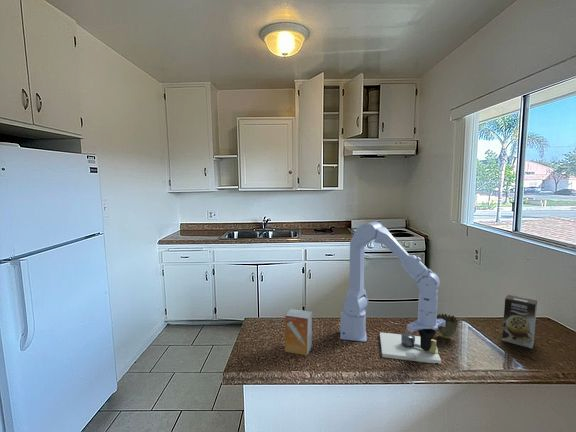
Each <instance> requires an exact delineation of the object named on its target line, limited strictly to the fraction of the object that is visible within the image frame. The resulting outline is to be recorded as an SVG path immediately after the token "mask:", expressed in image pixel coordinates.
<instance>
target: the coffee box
mask: <svg viewBox="0 0 576 432" xmlns="http://www.w3.org/2000/svg"><path fill="white" fill-rule="evenodd" d="M537 308H538V300H537V299H531V298H525V297H523V296H522V297H521V296H518V295H517V296H516V295H510V294H507V295H506V297H505V298H504V310H503V322H502V325H503V326H502V335H501V341H502V342H507V343H511V344H513V345H517V346H521V347H525V348H528V349H533V348H534V343H535V332H536V331H535V330H536V322H537V321H536V319H537Z"/></svg>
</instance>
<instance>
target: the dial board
mask: <svg viewBox="0 0 576 432" xmlns="http://www.w3.org/2000/svg"><path fill="white" fill-rule="evenodd" d="M401 335H402V333H401V334H398V333H391V332H389V333H388V332H380V331H379V339H380V347H381V348H380V349H381V356H382V358H387V359H396V360H404V361H413V362H419V363H428V364H435V363H438V364H437V365H442V359H441V357H440V355H439V348H438V347H437V345H436V353H432V352H429V351H424V350H422V349H421V348H418V347H415V346H414V347H411V348H410V347H405V346H403V345H402V344H401ZM414 336H415V344H418V345H420V340H421V338H420V335H414Z"/></svg>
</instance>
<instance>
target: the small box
mask: <svg viewBox="0 0 576 432" xmlns="http://www.w3.org/2000/svg"><path fill="white" fill-rule="evenodd" d="M284 318H285V319H284V352H285V353H292V354H296V355H297V354H298V355H303V356H306V357H307V356H308V355H309V353H310V350H311V348H312V344H313V342H312V340H313V339H312V337H313V335H312V334H313V333H312V332H313V331H312V330H313V328H312V327H313V311H308V310H303V309H302V310H301V309H293V308H290V309H289V310H288V311H287V312H286V314H285V317H284Z"/></svg>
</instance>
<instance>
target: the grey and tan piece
mask: <svg viewBox="0 0 576 432" xmlns="http://www.w3.org/2000/svg"><path fill="white" fill-rule="evenodd" d="M415 336H416V335H414V334H413V333H412V334H411V333H410V332H404V333H401V344H402V345H403V346H405V347H410V348H411V347H414V346H415V347H418V348H421V345H418V344H415ZM436 346H437V339H433V338H432V340H431V344H430V350H429V352H432V353H436ZM422 350H423V349H422Z"/></svg>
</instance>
